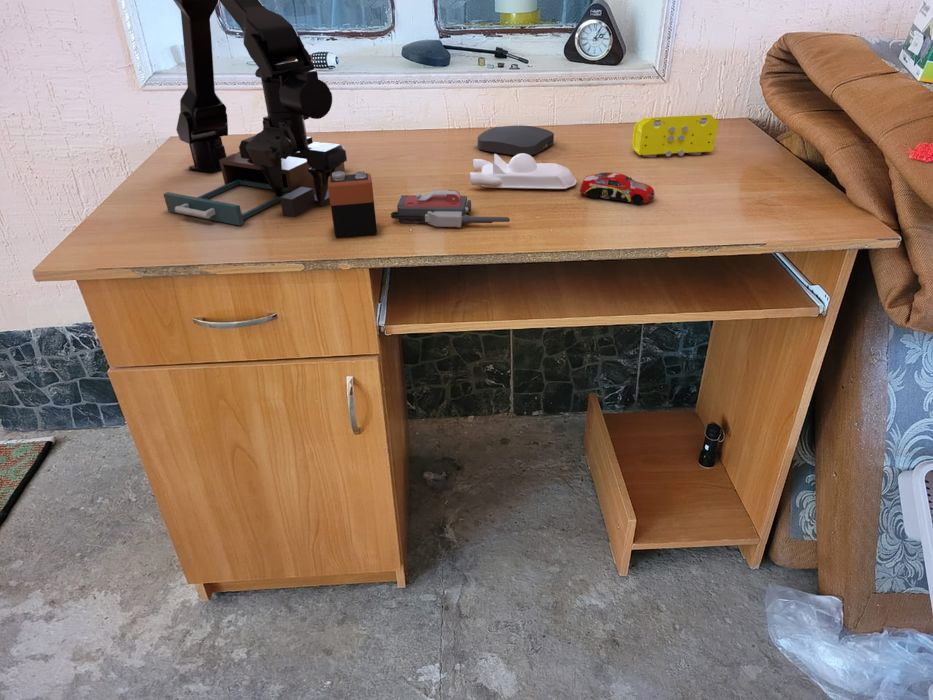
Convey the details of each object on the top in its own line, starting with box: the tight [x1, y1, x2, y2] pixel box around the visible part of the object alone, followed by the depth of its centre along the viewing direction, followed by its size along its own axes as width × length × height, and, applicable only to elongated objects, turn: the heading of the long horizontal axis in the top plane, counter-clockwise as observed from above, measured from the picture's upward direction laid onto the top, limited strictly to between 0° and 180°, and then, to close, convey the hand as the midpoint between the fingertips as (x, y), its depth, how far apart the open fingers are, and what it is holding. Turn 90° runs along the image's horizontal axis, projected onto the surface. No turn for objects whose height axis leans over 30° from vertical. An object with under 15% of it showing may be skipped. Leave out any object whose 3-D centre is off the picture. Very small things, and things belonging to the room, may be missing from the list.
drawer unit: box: [219, 141, 346, 193], centre depth 128 cm, size 17×17×5 cm
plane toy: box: [469, 153, 577, 190], centre depth 123 cm, size 10×20×6 cm, turn 85°
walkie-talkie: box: [390, 189, 510, 228], centre depth 109 cm, size 9×4×20 cm
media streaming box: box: [477, 124, 555, 156], centre depth 145 cm, size 15×15×3 cm
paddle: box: [279, 187, 330, 218], centre depth 117 cm, size 6×12×3 cm, turn 155°
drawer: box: [163, 179, 289, 226], centre depth 117 cm, size 19×17×3 cm
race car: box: [579, 172, 656, 206], centre depth 117 cm, size 13×5×4 cm, turn 63°
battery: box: [328, 170, 378, 239], centre depth 104 cm, size 4×7×10 cm, turn 100°
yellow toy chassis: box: [631, 114, 719, 158], centre depth 136 cm, size 16×6×8 cm, turn 95°
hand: (300, 199), depth 115 cm, fingers open, 9 cm apart
